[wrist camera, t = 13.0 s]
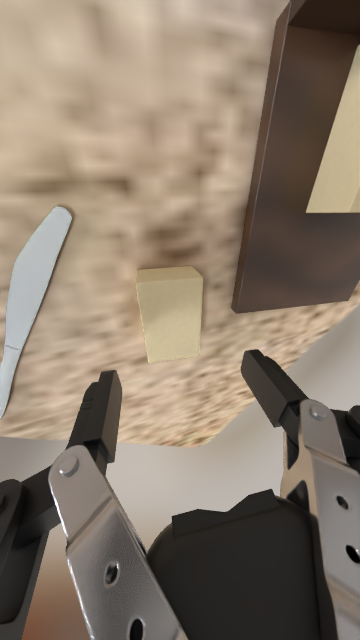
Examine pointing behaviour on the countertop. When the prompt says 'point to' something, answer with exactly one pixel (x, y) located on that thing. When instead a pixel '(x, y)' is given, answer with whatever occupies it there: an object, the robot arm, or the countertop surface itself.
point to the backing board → (300, 167)
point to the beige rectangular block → (341, 154)
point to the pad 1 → (170, 311)
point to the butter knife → (29, 290)
